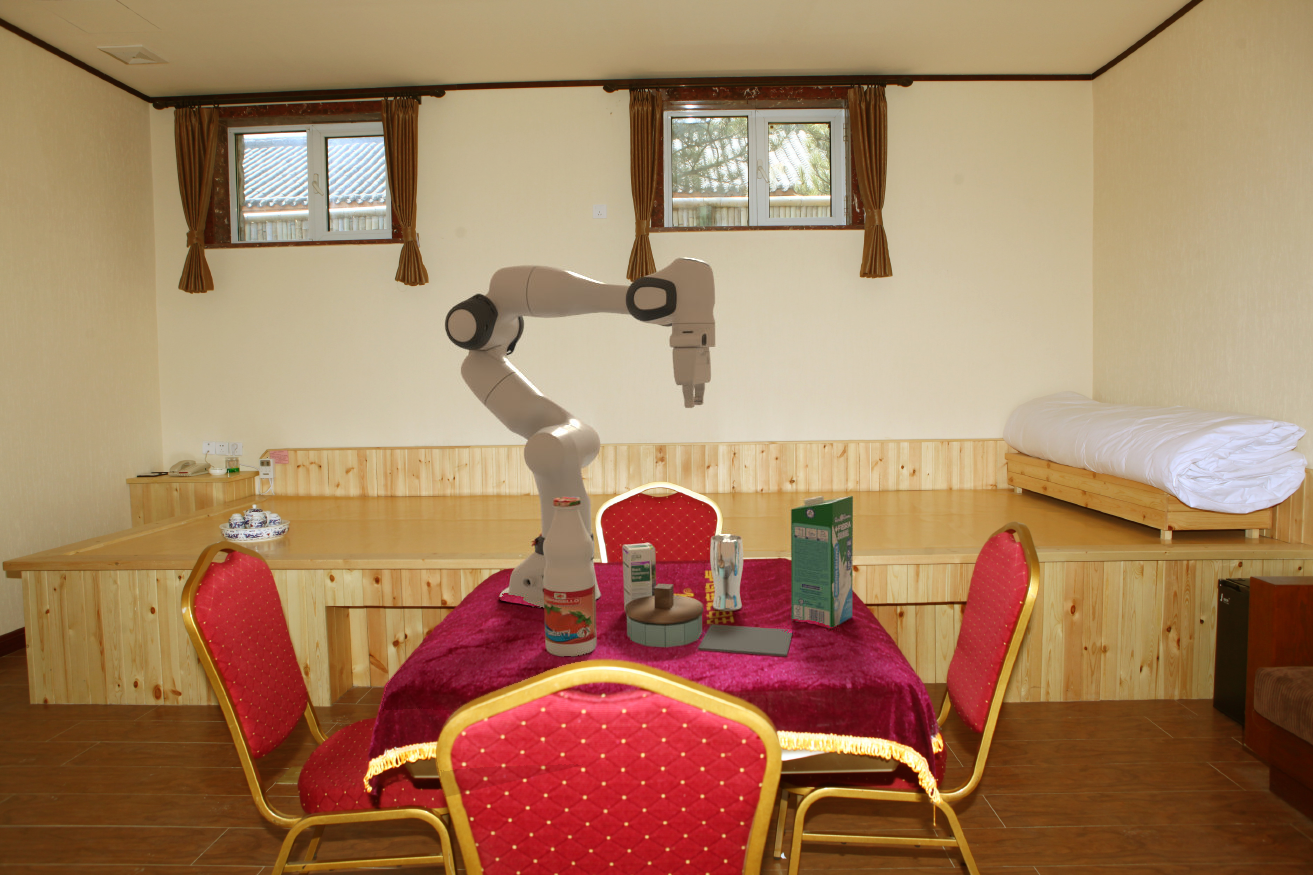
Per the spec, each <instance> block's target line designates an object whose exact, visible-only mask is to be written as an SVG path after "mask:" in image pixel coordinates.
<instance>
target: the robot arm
mask: <svg viewBox="0 0 1313 875" xmlns="http://www.w3.org/2000/svg"><path fill="white" fill-rule="evenodd" d="M715 304H716V290H715V279H714V270H713V268H712V266H710V264H709V263H707V262H705V261H703V260H701V259H696V258H691V257H690V258H689V257H678V258H675V259H674V260H673V261H672V262H671V263H669V264H668V265H667V266H665V267H664V268H662V269H660V270H658V271H656V272H653V273H651V274H648V275H644V276H641V277H638V278H637V279H635V280H634V281H632V283H630V285H623V284H613V283H612V284H611V283H604V282H601V281H597V280H594V279H591V278H589V277H586V276H584V275H580V274H578V273H575V272H572V271H569V270H566V269H562V268H559V267H553V266H548V265H547V266H546V265H535V264H534V265H533V264H531V265H526V264H525V265H514V266H507V267H501V268H500V269H497V270H496V271H495V272H494V274H493V275H492V277H491V278H490V282H489V287H488V292H487V293H486V294H485V295H484V294H482V293H476V294H474V295H472V296H470V297H469V298H467V299H465V300H463V301H461V302H458V303H457V304H456V305H454V306H453V307H452V308H450V309H449V311H448V312H447V314H446V316H445V320H444V329H445V333H446V335H447V338H448V339H449V340H450V342H452V343H453V344H454V345H455V346H456V347H459V348H460V349H464V350H467V351H468V355H466V357H465V358H464V360H463V361H462V364H461V366H460V375H461V377H462V379H463V381H464V382H465V384H466V385H467V387H468V388H469V389H470V391H471V392H472V393H473V394H474V396H475V397H476V398H477V399H478V400H479V401H480V403H481V404H483V405H484V406H485V407H486V409H488V410H489V411H490V413H491V414H493V415H494V416H495V418H496V419H497V420H499V422H501V424H502V425H504V426H505V427H506V428H507V430H509V431H510V432H512V433H513V434H516V435H519V436H520V437H522V438H524V439H526V440H527V441H526V443H525V445H524V448H523V458H524V459H523V460H524V461H525V462H524V463H525V464H526V466H527V468H528V469H529V470H530V472H532V475H533V478H534V481H535V485H536V488H537V493H538V497H539V504H540V517H541V518H540V521H541V533H540V534H539V535H538V536H537V537H535V538H534V540H532V541H531V543H532V544H531V547H534V552H532V553H531V554H530V555H529V556H528V557H526V558H525V559H524V560H523V561H522V562H520V563H519V564H518V565H516V567H515V568H514V569H513V570H512V572H511V574H510V579H509V585H508V587H506V588H505V589H503V590H502V591H501V593H500V594H499V597H502V596H503V595H502V594H504V593H508V594H509V595H515V596H521V597H524V598H523V600H524V601H526V602H528V603H531V604H534V605H537V606H540V607H539V608H541V607H543V609H544V587H543V576H544V569H545V567H546V559H545V556H544V552H543V543H544V540H545V538H546V536H547V535H548V533H549V530H550V528H551V525H552V521H553V518H554V514H555V508H554V505H553V500H554V499H555V498H558V497H568V496H571V497H579V498H580V501H581V504H580V508H579V512H580V515H581V518H582V521H583V523H584V526H585V528H586V530H587V532H588V533H589V535H590V536H591V538H592V541H593V553H592V557H591V563H592V566H593V568H594V573H595V574H596V570H595V562H594V559H595V540H594V533H593V532H592V507H591V506H592V504H591V503H592V502H591V498H590V496H589V494H588V493H587V490H586V488H585V483H584V480H583V476H582V469H584V468H587V467H588V466H589V465H591V464H592V463H593V461H594V460H595V459H596V458H597V456H598V455H599V452H600V450H601V449H600V448H601V438H600V437H599V433H598V432H597V431H596V430H595V428H594V427H592V426H590V425H589V424H587V423H585V422H584V421H581V420H580V419H579V418H577V417H576V416H575V415H573V414H572V413H570V412H569V411H568V410H566V408H563V407H562V406H561V405H559V404H558V403H556V402H555V401H553V400H552V399H551V398H549V397H548V396H547V395H546V394H544V392H542V391H541V390H540V388H538V387H537V386H536V385H535V384H534V383H533V382H531V380H530V379H529V378H528V377H526V375H524V374H523V373H522V372H521V371H520V370H519V369H518V368H517V367H516V366H515V365H514V364H513V363H512V362H511V360H509V358H508V356H509V355H512V354H513V353H514V352H515V348H516V346H517V344H518V342H519V341H520V339H521V338H522V335H523V333H524V329H525V320H524V317H531V318H532V317H533V318H543V319H547V318H549V319H551V318H555V319H556V318H565V317H572V316H573V317H574V316H580V315H589V314H599V313H602V314H603V313H605V314H607V313H608V314H618V315H619V314H620V315H628V316H629V315H630V316H632V318H634V319H635V320H637V321H639V322H642V323H645V324H652V325H658V326H662V327H667V328H668V327H671V334H670V336H669V339H668V340H669V347H670V348H672V352H671V353H672V365H673V366H672V368H673V378H674V382H675V384H676V386H681V390H682V396H683V402H684V405H683V406H684V408H685V409H693V408H694V407H696V406H702V405H703V404H704V396H705V390H706V384H707V383H710V382H711V378H712V368H711V365H712V364H711V353H710V352H711V351H710V348H714V347H716V320H715V316H714V308H715ZM601 595H602V594H601V591H600V589H599V585H598V581H597V576H596V575H595V599H596V600H597V599H599V598H600V597H601Z"/></svg>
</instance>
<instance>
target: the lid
mask: <svg viewBox="0 0 1313 875" xmlns="http://www.w3.org/2000/svg"><path fill="white" fill-rule="evenodd" d="M624 611H625V615H626V617H627V616H628V617H630V618H632V619H634V620H637V621H641V622H647V623H678V622H684V621H688V620H692V619H694V618H697V617H699V616H700V615H701V614H702V615H703V613H704V603H702V602H701V601H700V600H698V599H695V598H692V597H689V596H684V595H683V596H682V595H676V594H675V595H674V584H670V583H669V584H667V583H656V587H655V588H654V596H648V597H642V598H638V599H635V600H633V601H631V602H629V603H628V604H627V605H626V606H625V608H624Z"/></svg>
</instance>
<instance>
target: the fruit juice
mask: <svg viewBox="0 0 1313 875" xmlns="http://www.w3.org/2000/svg"><path fill="white" fill-rule="evenodd" d="M580 504H581V501H580V498H579V497H571V496H568V497H558V498H555V499H554V500H553V505H554V508H555V514H554V518H553V521H552V525H551V528H550V530H549V533H548V535H547V536H546V538H545V540H544V543H543V552H544V556H545V559H546V567H545V569H544V576H543V587H544V608H543V610H544V638H545V640H544V641H545V649H546V651H547V652H548V653H550V654H551V655H554V656H557V657H564V656H571V657H579V656H583V654H584V655H586V653H587V654H589V653H591V652H593V651H594V650H595V649H596V646H597V636H598V635H597V608H596V607H597V603H596V601H597V599H595V576H596V572H595V573H594V570H595V567H594V568H593V566H592V563H591V557H592V553H593V541H592V538H591V536H590V535H589V533H588V532H587V530H586V528H585V526H584V523H583V521H582V518H581V515H580V512H579V508H580ZM578 655H579V656H578Z"/></svg>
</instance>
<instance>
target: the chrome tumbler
mask: <svg viewBox="0 0 1313 875" xmlns="http://www.w3.org/2000/svg"><path fill="white" fill-rule="evenodd" d="M743 547H744V546H743V537H742V536H740V535H738V534H731V533H730V534H729V533H726V534H716V535H713V536H711V537H710V549H709V551H710V552H709V554H710V557H709V558H710V561H709V562H710V569H711V576H712V579H713V586H714V597H713V603H712V608H713V609H715V610H717V611H721V612H733V611H738V610H741V609H742V600H741V595H740V594H741V593H740V590H741V588H740V586H741V579H742V574H743V566H744V548H743Z"/></svg>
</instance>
